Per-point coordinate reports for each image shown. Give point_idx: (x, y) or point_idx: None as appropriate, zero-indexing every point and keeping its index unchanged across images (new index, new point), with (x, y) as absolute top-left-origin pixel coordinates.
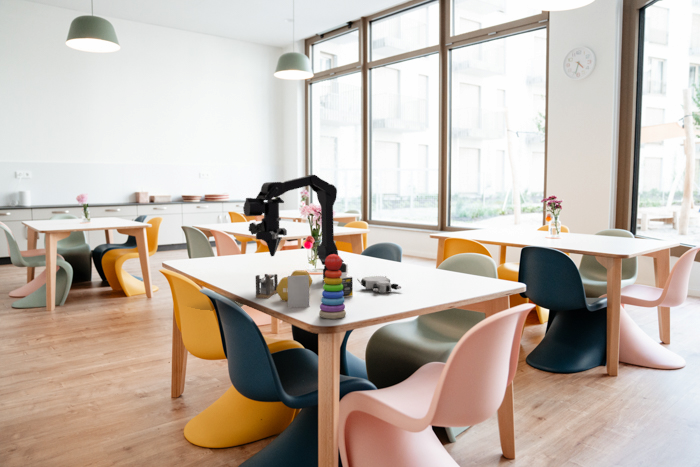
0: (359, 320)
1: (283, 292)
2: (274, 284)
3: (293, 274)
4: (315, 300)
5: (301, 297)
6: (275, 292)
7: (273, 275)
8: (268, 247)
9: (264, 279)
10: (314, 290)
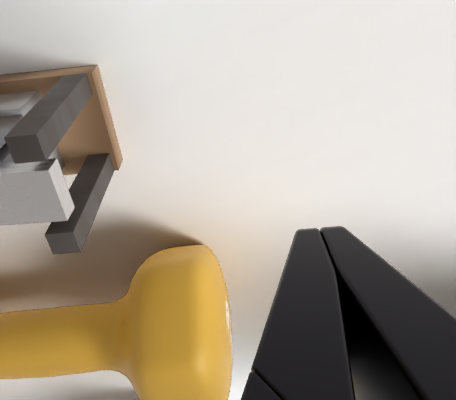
0: None
1: None
2: (74, 180)
3: (129, 357)
4: (24, 383)
5: None
6: (64, 169)
7: (56, 217)
8: (243, 395)
9: None
10: (253, 322)
